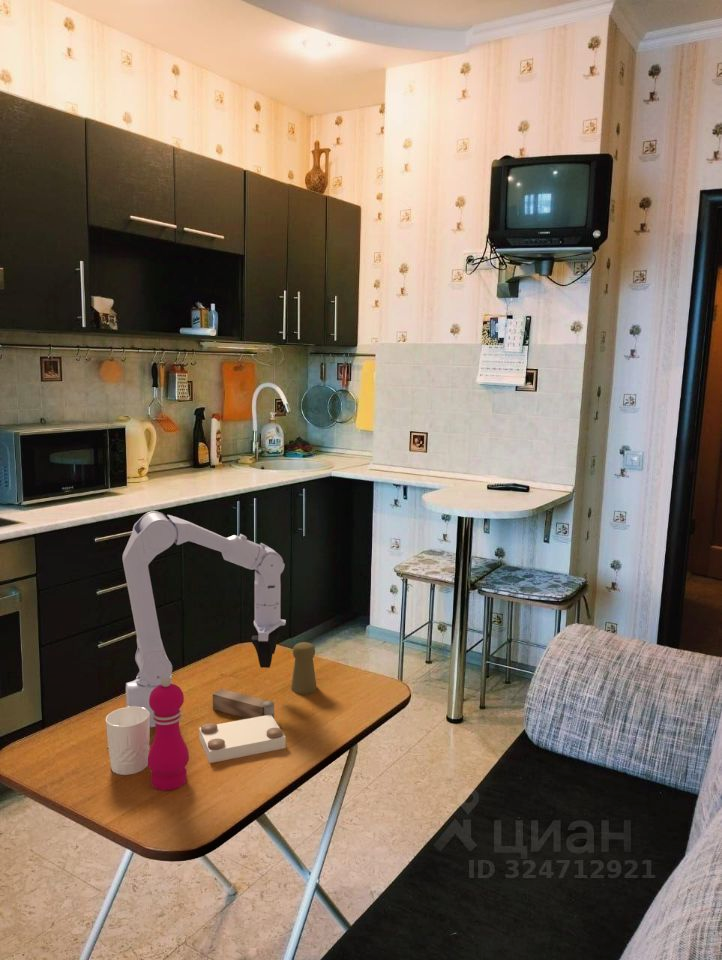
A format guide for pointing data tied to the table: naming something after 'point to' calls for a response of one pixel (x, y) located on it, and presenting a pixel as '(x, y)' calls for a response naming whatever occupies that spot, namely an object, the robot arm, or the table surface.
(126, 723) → the white cup
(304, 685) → the cork
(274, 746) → the stool seat
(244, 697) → the folding leg
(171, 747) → the pepper mill
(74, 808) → the table surface
